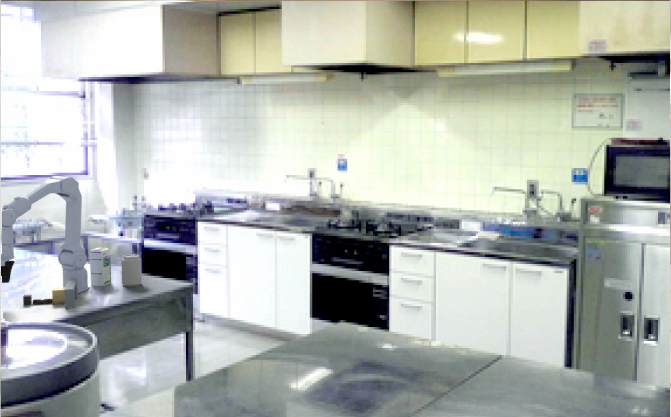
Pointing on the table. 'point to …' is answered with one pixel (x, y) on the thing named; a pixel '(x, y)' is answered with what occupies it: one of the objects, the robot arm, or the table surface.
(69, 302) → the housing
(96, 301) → the table surface
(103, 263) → the syrup box
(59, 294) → the plug
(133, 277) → the can
